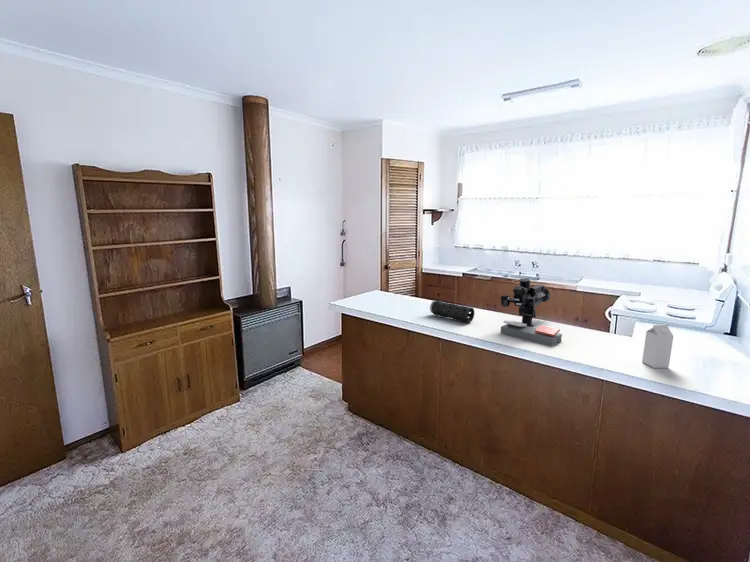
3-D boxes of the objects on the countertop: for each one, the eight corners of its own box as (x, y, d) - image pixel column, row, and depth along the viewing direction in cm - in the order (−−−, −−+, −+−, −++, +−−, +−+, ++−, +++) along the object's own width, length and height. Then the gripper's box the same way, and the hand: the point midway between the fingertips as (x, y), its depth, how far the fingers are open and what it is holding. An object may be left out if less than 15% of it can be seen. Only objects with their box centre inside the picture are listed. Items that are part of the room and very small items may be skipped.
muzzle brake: (466, 325, 236) (467, 308, 234) (428, 316, 255) (429, 301, 253) (474, 322, 243) (475, 306, 241) (437, 313, 261) (437, 298, 260)
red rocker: (541, 326, 213) (541, 324, 213) (559, 331, 206) (559, 328, 206) (534, 332, 208) (534, 330, 208) (553, 336, 201) (553, 334, 200)
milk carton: (641, 362, 179) (647, 322, 176) (656, 362, 180) (661, 322, 177) (653, 368, 172) (659, 327, 169) (668, 368, 173) (675, 327, 170)
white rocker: (509, 322, 226) (510, 320, 226) (526, 326, 219) (526, 324, 219) (503, 322, 220) (503, 320, 220) (520, 326, 213) (520, 324, 213)
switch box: (510, 329, 228) (510, 321, 228) (561, 340, 208) (561, 332, 207) (500, 333, 220) (500, 325, 219) (552, 346, 200) (553, 337, 199)
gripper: (506, 283, 229) (494, 291, 219) (538, 285, 217) (527, 294, 206) (507, 301, 232) (495, 310, 221) (539, 304, 219) (528, 314, 209)
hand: (511, 306), depth 214 cm, fingers open, 9 cm apart
